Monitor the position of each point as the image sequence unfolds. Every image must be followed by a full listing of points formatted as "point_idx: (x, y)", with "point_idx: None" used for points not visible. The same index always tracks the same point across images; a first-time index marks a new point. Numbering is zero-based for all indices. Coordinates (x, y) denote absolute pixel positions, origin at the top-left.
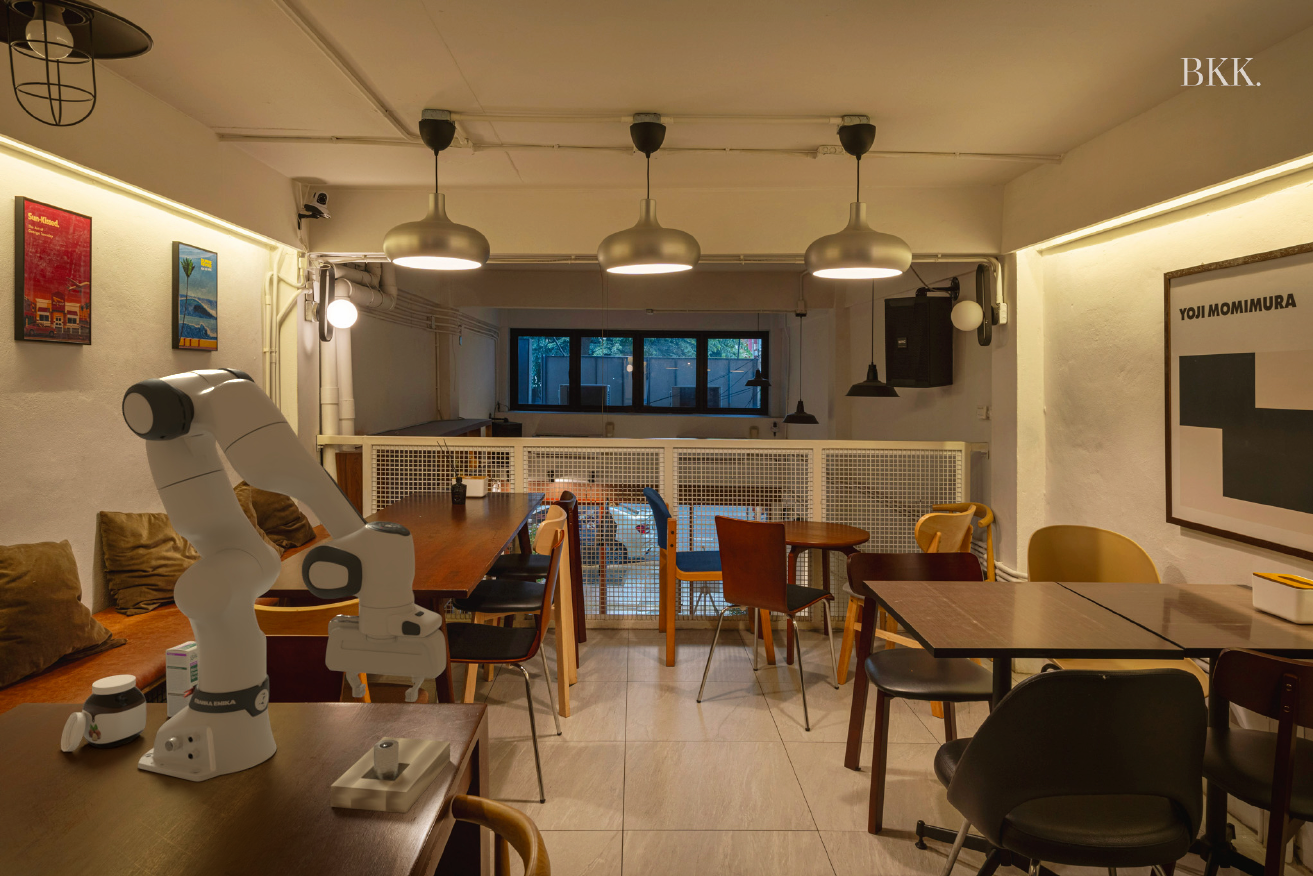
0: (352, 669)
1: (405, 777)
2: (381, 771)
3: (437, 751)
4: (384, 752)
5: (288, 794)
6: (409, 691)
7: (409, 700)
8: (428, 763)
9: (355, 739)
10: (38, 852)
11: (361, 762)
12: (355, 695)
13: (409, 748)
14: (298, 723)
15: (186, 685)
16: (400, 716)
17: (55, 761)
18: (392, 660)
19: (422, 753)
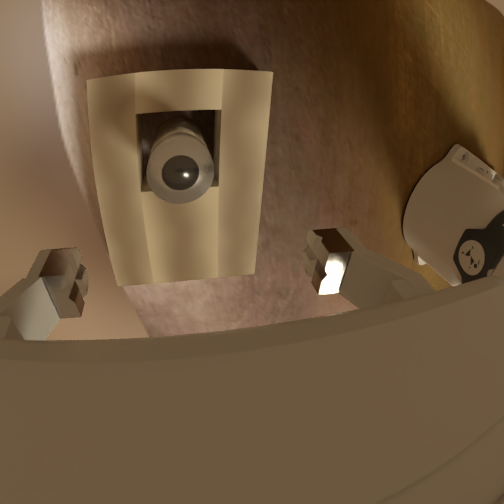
0: (431, 303)
1: (119, 135)
2: (176, 128)
3: (117, 250)
4: (168, 140)
5: (350, 109)
6: (48, 282)
7: (57, 249)
8: (104, 202)
9: (311, 281)
10: (501, 27)
11: (252, 174)
12: (334, 228)
13: (179, 247)
14: None
15: None
16: None
17: None
18: (91, 467)
19: (141, 236)
